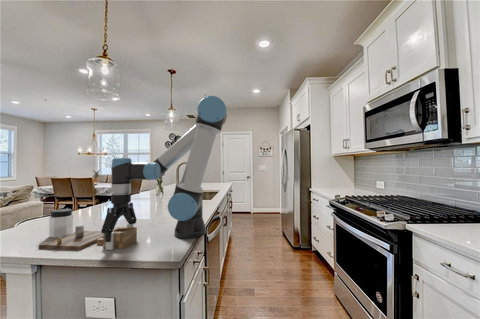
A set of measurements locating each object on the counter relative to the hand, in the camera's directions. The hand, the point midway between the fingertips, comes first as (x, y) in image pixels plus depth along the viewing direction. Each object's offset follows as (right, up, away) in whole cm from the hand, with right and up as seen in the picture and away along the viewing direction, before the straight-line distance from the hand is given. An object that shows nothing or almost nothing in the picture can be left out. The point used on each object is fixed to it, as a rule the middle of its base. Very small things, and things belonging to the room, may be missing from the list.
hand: (120, 243), depth 95 cm
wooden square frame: (-3, 0, 0) cm, 3 cm away
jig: (-20, 0, +4) cm, 21 cm away
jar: (-36, -1, +13) cm, 38 cm away
